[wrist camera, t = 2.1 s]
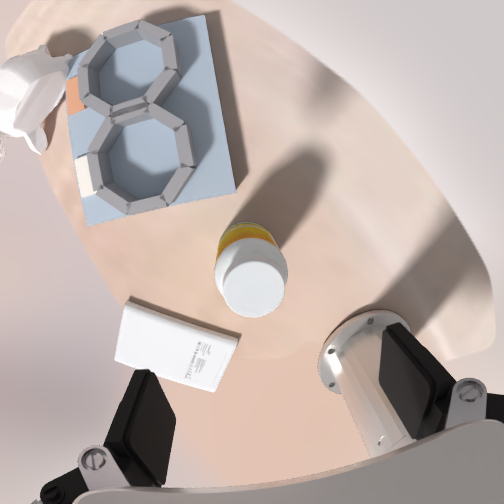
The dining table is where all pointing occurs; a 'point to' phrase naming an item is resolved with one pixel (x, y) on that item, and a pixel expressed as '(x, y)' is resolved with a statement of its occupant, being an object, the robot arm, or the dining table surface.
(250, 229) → the supplement bottle
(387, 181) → the dining table surface
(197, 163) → the socket board
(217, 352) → the external hard drive
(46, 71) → the white figurine
